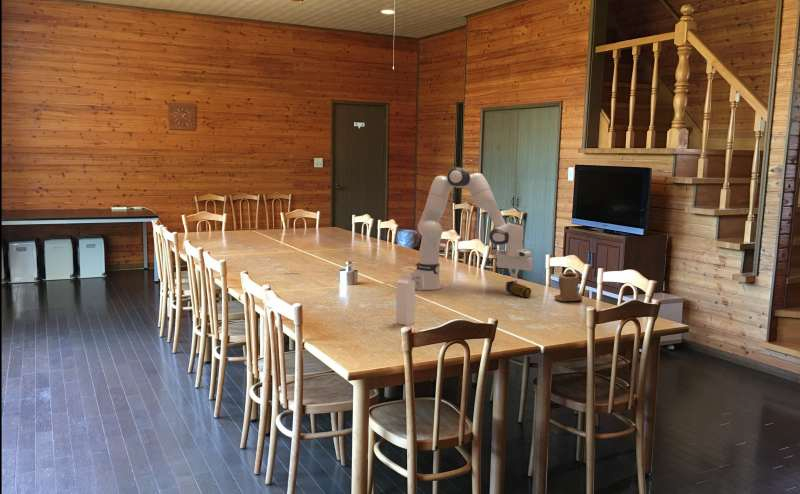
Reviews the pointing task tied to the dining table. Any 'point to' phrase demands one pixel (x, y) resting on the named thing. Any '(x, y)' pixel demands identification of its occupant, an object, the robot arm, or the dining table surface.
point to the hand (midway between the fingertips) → (513, 276)
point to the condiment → (517, 289)
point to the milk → (405, 300)
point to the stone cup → (568, 287)
